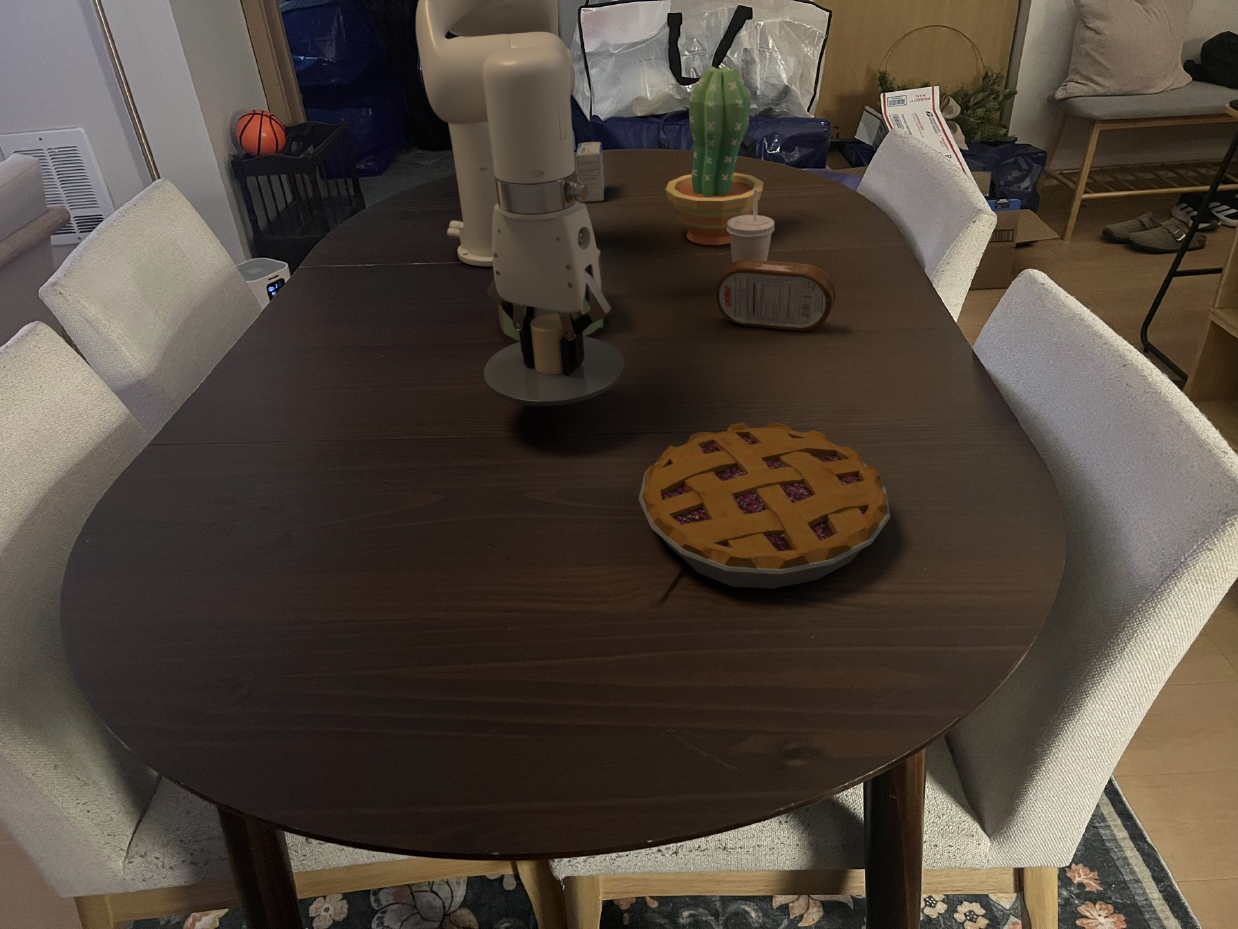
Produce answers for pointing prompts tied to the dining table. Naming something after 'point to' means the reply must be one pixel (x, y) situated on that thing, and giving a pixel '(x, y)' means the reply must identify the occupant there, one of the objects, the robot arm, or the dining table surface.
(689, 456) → the pie
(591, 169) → the medicine box
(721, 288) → the tin
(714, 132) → the potted cactus
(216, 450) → the dining table surface
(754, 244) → the smoothie
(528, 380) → the lid
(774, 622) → the dining table surface
